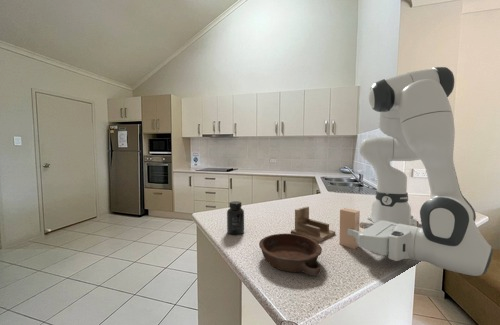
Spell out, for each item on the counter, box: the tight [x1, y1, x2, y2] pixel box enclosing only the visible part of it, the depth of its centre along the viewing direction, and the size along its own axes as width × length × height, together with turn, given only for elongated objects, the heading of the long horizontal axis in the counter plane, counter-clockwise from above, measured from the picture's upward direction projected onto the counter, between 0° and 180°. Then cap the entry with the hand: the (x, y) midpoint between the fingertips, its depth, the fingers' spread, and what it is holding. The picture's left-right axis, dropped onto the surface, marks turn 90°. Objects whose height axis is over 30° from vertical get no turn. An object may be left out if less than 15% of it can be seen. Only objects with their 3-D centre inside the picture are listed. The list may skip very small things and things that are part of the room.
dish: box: [258, 233, 323, 277], centre depth 61 cm, size 18×22×5 cm
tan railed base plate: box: [290, 205, 336, 244], centre depth 82 cm, size 12×12×9 cm
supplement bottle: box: [226, 200, 245, 236], centre depth 83 cm, size 7×7×12 cm
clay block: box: [339, 207, 361, 250], centre depth 71 cm, size 4×5×12 cm
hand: (354, 227), depth 70 cm, fingers open, 8 cm apart
